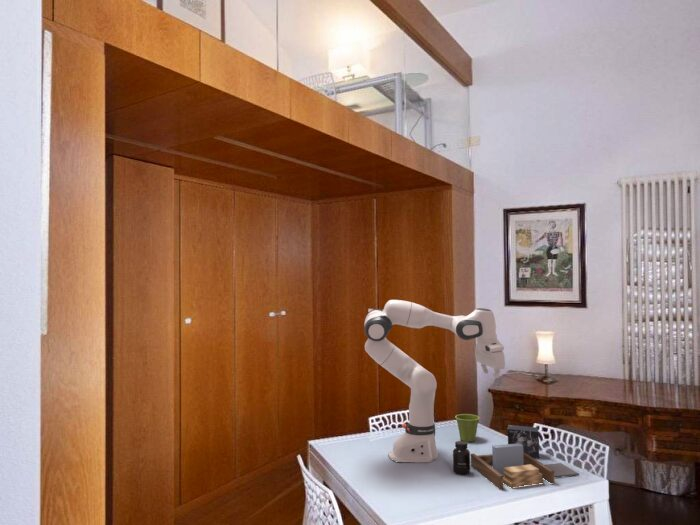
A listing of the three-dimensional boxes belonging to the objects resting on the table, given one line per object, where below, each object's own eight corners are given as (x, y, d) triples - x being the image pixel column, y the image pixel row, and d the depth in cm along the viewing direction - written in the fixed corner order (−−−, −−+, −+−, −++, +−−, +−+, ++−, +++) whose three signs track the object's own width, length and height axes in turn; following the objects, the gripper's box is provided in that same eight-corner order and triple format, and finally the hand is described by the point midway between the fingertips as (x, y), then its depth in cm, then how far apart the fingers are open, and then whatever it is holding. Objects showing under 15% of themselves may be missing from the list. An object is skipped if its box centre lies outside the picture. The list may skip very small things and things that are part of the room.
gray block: (496, 475, 200) (495, 447, 200) (493, 473, 203) (492, 445, 203) (524, 473, 202) (523, 445, 202) (520, 470, 205) (519, 443, 205)
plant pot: (483, 443, 240) (482, 419, 240) (458, 444, 240) (457, 420, 240) (477, 436, 252) (476, 413, 252) (453, 436, 252) (453, 414, 252)
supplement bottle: (460, 476, 199) (459, 446, 200) (449, 471, 205) (448, 441, 206) (473, 473, 202) (473, 443, 203) (462, 468, 208) (461, 439, 209)
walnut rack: (499, 489, 186) (499, 476, 186) (471, 465, 211) (470, 453, 211) (554, 484, 190) (554, 470, 190) (519, 461, 215) (519, 449, 215)
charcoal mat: (551, 478, 196) (551, 476, 196) (534, 467, 208) (534, 465, 208) (579, 475, 198) (578, 473, 198) (560, 464, 210) (560, 463, 210)
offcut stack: (511, 489, 187) (510, 473, 187) (502, 483, 192) (501, 467, 193) (543, 484, 190) (542, 468, 191) (533, 479, 196) (533, 463, 196)
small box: (507, 456, 222) (507, 428, 223) (508, 451, 228) (507, 424, 229) (539, 459, 218) (538, 431, 218) (539, 454, 224) (538, 427, 225)
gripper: (470, 342, 230) (473, 371, 230) (492, 349, 210) (496, 381, 210) (482, 340, 231) (486, 369, 231) (506, 346, 211) (509, 379, 212)
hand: (491, 375), depth 221 cm, fingers open, 8 cm apart
